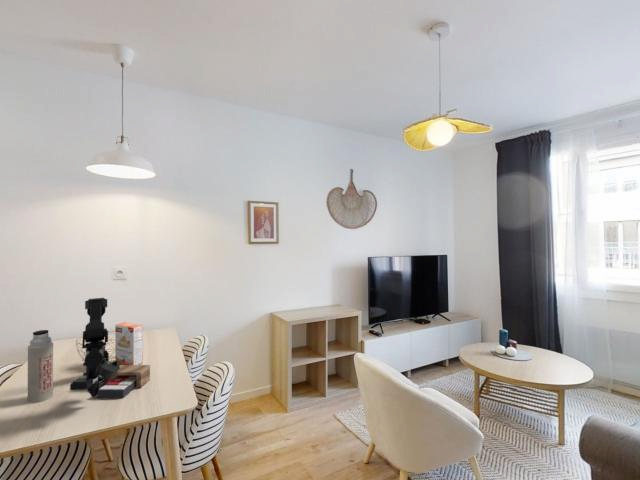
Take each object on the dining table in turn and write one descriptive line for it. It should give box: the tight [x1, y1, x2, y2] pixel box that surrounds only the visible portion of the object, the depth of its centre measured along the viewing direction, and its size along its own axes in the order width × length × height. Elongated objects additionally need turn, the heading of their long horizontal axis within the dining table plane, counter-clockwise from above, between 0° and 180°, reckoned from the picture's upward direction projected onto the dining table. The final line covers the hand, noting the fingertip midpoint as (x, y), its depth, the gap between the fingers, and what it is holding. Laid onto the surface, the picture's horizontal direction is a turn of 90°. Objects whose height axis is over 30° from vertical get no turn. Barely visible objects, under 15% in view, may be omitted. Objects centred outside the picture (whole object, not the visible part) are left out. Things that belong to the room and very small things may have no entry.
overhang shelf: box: [101, 364, 151, 389], centre depth 144 cm, size 22×8×7 cm, turn 92°
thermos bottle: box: [27, 329, 54, 404], centre depth 131 cm, size 8×8×28 cm
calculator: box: [96, 376, 137, 399], centre depth 139 cm, size 11×4×15 cm
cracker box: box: [114, 321, 144, 365], centre depth 168 cm, size 14×6×21 cm, turn 68°
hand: (94, 396), depth 126 cm, fingers closed
